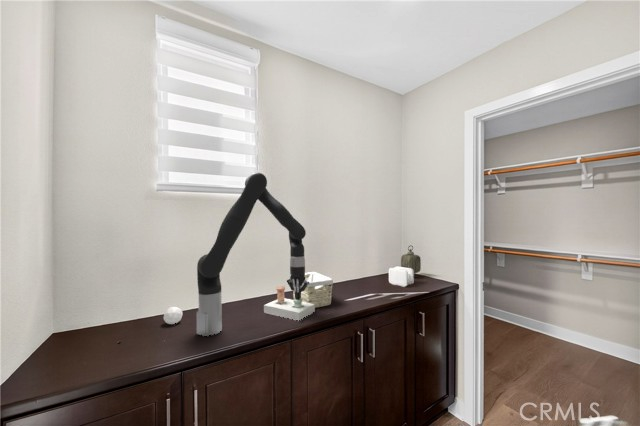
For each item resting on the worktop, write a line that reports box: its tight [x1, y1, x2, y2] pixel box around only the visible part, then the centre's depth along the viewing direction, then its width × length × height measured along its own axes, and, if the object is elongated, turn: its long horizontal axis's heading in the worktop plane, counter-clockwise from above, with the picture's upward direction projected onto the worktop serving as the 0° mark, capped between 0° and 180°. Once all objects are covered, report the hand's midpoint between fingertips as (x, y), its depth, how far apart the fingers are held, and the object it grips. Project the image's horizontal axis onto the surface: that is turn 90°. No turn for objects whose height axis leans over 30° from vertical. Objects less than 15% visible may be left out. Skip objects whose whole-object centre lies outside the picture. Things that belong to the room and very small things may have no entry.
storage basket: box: [292, 271, 334, 309], centre depth 154 cm, size 24×16×15 cm
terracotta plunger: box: [275, 285, 286, 302], centre depth 141 cm, size 5×5×7 cm
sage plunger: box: [292, 298, 303, 309], centre depth 135 cm, size 5×5×7 cm
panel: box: [263, 297, 316, 322], centre depth 138 cm, size 14×22×4 cm, turn 59°
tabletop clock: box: [400, 245, 422, 279], centre depth 209 cm, size 14×9×25 cm, turn 130°
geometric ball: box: [163, 306, 183, 325], centre depth 125 cm, size 8×8×8 cm
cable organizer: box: [388, 265, 415, 288], centre depth 189 cm, size 15×11×12 cm
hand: (298, 299), depth 135 cm, fingers closed
